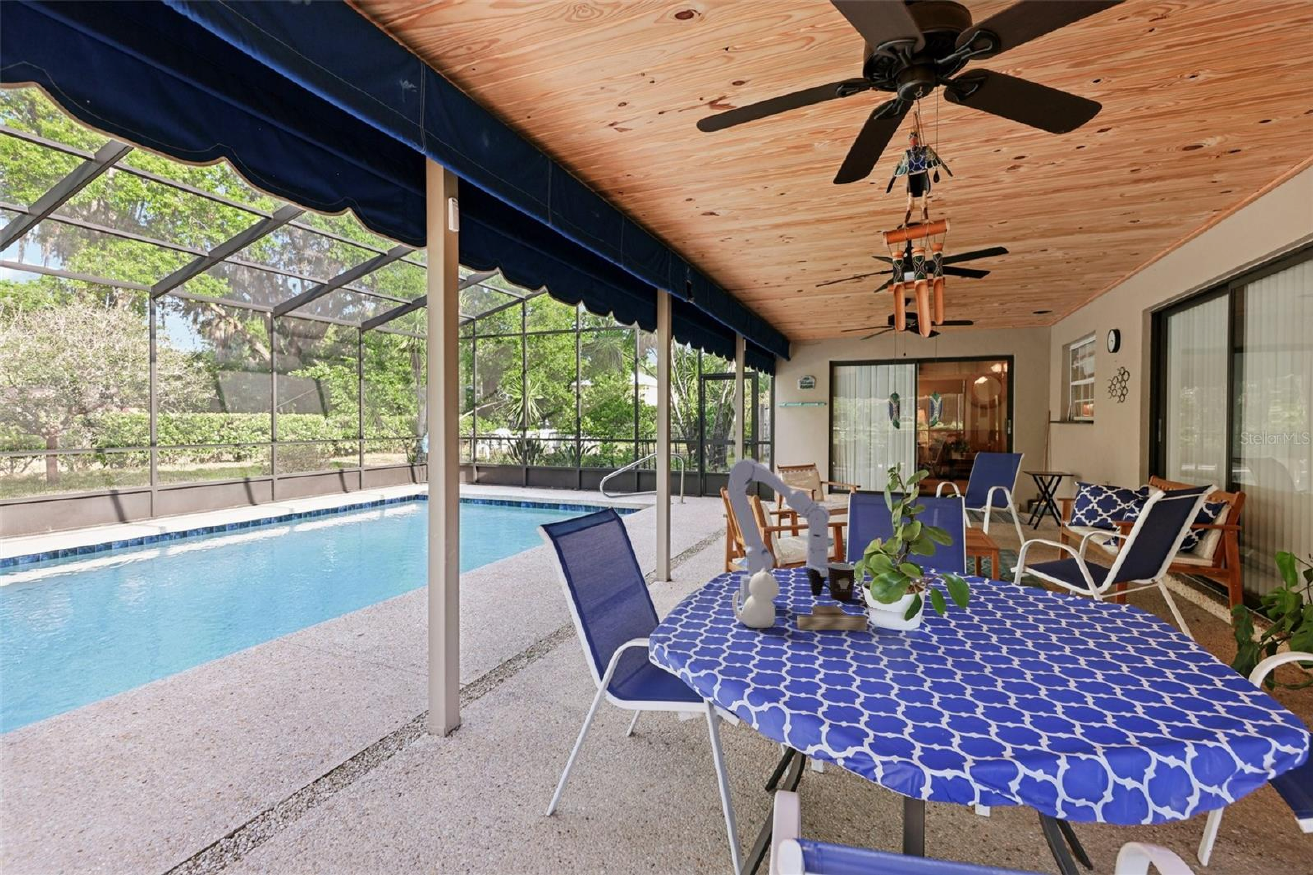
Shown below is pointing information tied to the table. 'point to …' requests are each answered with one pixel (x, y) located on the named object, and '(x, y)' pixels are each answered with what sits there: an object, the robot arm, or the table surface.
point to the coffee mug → (841, 581)
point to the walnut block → (827, 611)
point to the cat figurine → (758, 601)
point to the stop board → (831, 622)
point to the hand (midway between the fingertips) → (816, 595)
